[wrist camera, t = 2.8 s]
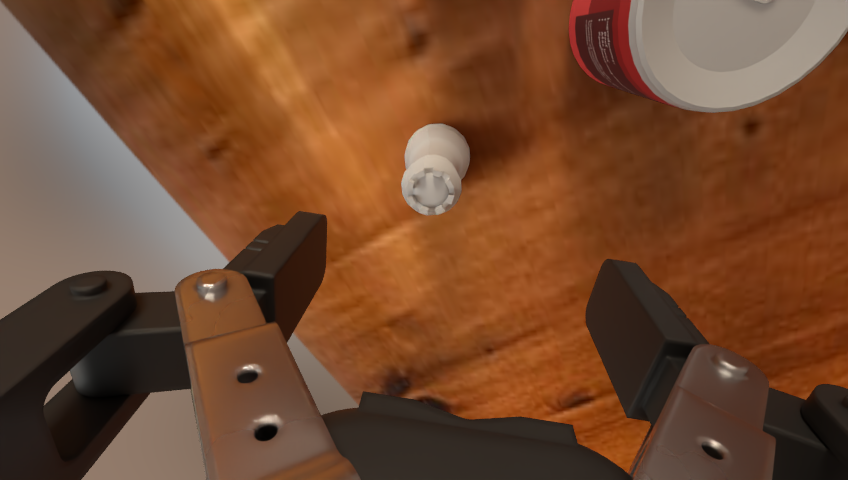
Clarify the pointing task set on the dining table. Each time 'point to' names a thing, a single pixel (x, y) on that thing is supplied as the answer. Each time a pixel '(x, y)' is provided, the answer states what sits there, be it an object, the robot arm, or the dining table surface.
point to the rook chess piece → (434, 168)
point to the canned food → (704, 47)
